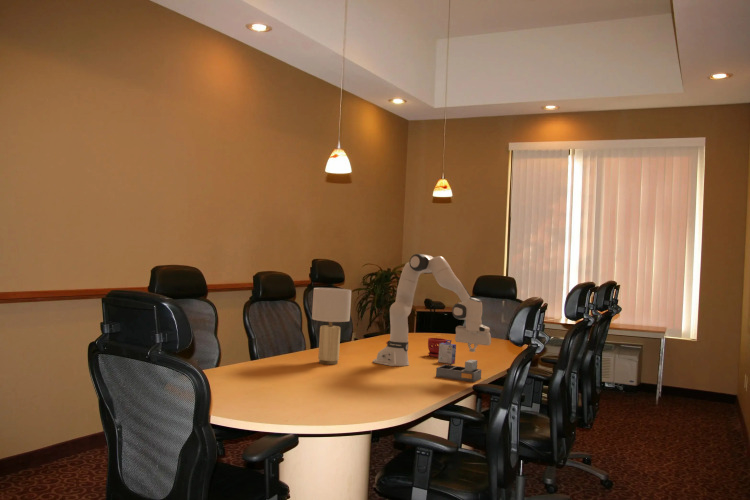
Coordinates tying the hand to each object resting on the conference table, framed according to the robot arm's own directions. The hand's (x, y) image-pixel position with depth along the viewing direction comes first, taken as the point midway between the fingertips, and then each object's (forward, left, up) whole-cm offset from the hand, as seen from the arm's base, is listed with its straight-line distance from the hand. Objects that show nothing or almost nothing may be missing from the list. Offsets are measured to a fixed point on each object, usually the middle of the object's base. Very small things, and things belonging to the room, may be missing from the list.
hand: (472, 351), depth 351 cm
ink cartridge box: (-29, +41, -16) cm, 53 cm away
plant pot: (-43, +60, -16) cm, 76 cm away
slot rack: (-7, 0, -16) cm, 17 cm away
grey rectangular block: (0, 0, -14) cm, 14 cm away
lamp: (-84, -15, -16) cm, 87 cm away
